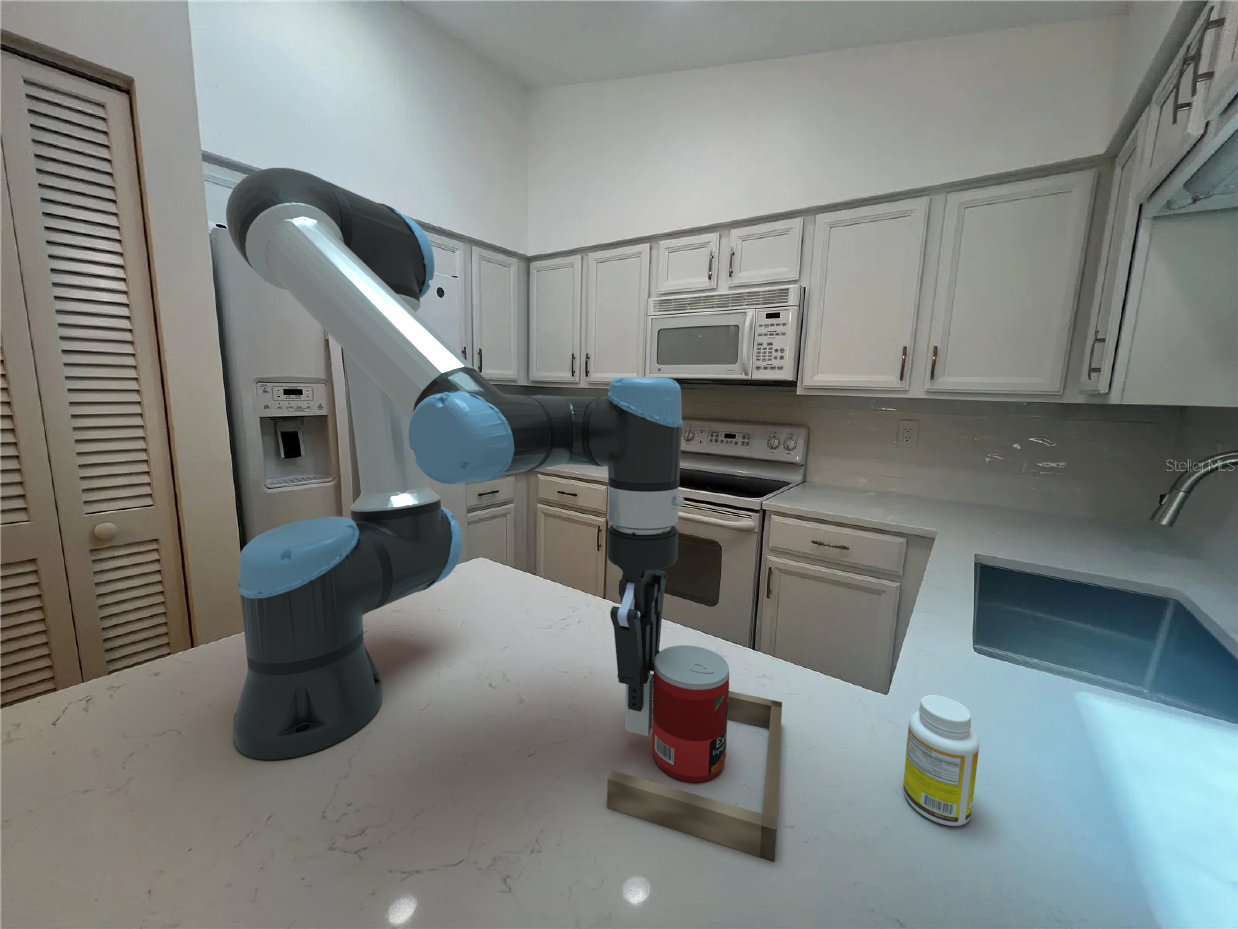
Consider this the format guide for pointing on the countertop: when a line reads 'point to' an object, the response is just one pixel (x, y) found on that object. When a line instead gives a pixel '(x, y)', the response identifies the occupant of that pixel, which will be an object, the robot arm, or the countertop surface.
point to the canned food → (690, 712)
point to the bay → (708, 814)
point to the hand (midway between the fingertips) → (638, 729)
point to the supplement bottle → (941, 761)
